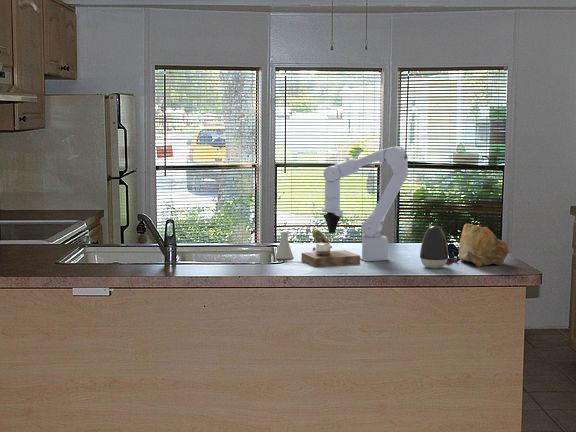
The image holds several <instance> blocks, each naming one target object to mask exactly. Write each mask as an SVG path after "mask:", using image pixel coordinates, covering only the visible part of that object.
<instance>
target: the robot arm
mask: <svg viewBox="0 0 576 432" xmlns="http://www.w3.org/2000/svg"><path fill="white" fill-rule="evenodd" d="M408 159H409V156H408V154H407V151H406V150H405V149H404V147H402V146H400V145H396V146H391V147H387V148H384V149H383V148H382V149H379V150H376V151H374V152H372V153H369V154H367V155H365V156H362V157H360V158H358V159H357V158H356V159H355V158H354V157H347V158H345V160H343V161H340V162H335V163H334V165H329V166H328V167H325V169H324V171H323V177H324V180H325V182H324V184H325V185H324V206H322V209H321V211H322V213H326V214H323V218H324V220H325V222H326V226H327V230H328V231H327V232H328V233H329V234H336V231H337V227H338V224H339V221H340V220H341V218H342V217H343V212H344V211H343V210H341V179H343V178H345V177H349V176H350V175H353V174H357V173H358V172H359V170H360V168H361V167H364V166H367V165H369V164H372V163H375V162H378V161H380V162H387V164H388V165H389V166H390V169H391V170H392V173H393V174H392V177H391V179H390V180H389V182H388V183H387V186H386V187H385V189H384V191H383V193H382V195H381V197H380V198H379V200H378V202H377V204H376V205H375V207H374V209H373V210H372V212H371V213H370V215H369V216H368V218H367V219H366V220H364V221H363V222H362V224H361V227H360V228H361V232H362V237H361V238H362V239H361V240H362V241H361V248H362V249H361V250H362V251H361V256H360V260H362V261H365V262H377V261H378V262H379V261H390V258H389V240H388V237H387V236H385V235H382V233H381V231H382V229H383V227H384V225H383V224H384V221H385V219H386V216H387V213H388V211H389V210H390V208H391V206H392V204H393V203H394V201H395V199H396V198H397V196H398V194H399V192H400V191H401V188H402V186H403V185H404V183H405V181H406V179H407V178H408V175H409V168H408V167H409V166H408V164H409V163H408Z"/></svg>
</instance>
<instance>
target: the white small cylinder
mask: <svg viewBox="0 0 576 432" xmlns="http://www.w3.org/2000/svg"><path fill="white" fill-rule="evenodd" d="M315 246H316V247H315V248H316V249H315V252H316V255H318V256H329V255H330V251H331V249H330V246H331V243H330V242H329V243H317V242H316V245H315Z"/></svg>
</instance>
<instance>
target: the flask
mask: <svg viewBox="0 0 576 432" xmlns="http://www.w3.org/2000/svg"><path fill="white" fill-rule="evenodd" d="M288 237H289V232H288V231H280V241H279V245H278V247H277V250H276V252H275V256H274V259H278V260H291V259H294V254H293V252H292V249H291V246H290V242H289V238H288Z"/></svg>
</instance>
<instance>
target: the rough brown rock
mask: <svg viewBox="0 0 576 432" xmlns="http://www.w3.org/2000/svg"><path fill="white" fill-rule="evenodd" d="M458 244H459V245H458V246H459V247H458V259H459V260H461V261H466V262H472V263H473V264H474V265H475V266H476V267H482V266H490V265H492V264H494V265H496V266H502V265H503V264H504V262H505V259H506V258H507V256H508V254H509V253H510V249H509V247H508V245H507V244H508V243H506V241H504V240H502V239H498V238H497V237H496V234H494V232H493V231H492V230H490V229H489V227H487V226H481V225H476V224H475V225H474V224H472V223H465V224H464V225H463V229H462V232H461V237H460V239H459V243H458Z"/></svg>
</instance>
